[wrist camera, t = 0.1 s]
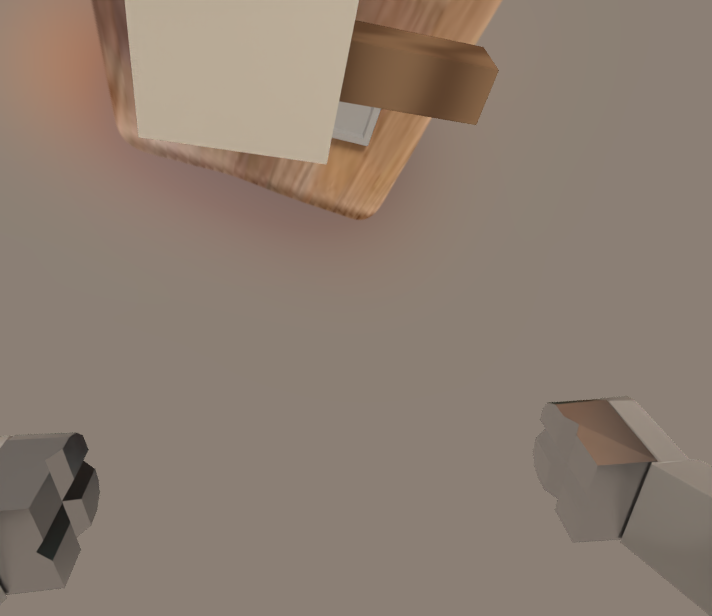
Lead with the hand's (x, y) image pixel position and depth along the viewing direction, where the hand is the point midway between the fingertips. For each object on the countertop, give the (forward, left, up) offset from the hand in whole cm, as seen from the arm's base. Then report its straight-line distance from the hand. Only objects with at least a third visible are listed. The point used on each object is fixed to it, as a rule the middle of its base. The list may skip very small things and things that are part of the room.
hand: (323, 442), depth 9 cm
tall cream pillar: (+3, -1, -52) cm, 52 cm away
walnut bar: (+1, +3, -26) cm, 26 cm away
